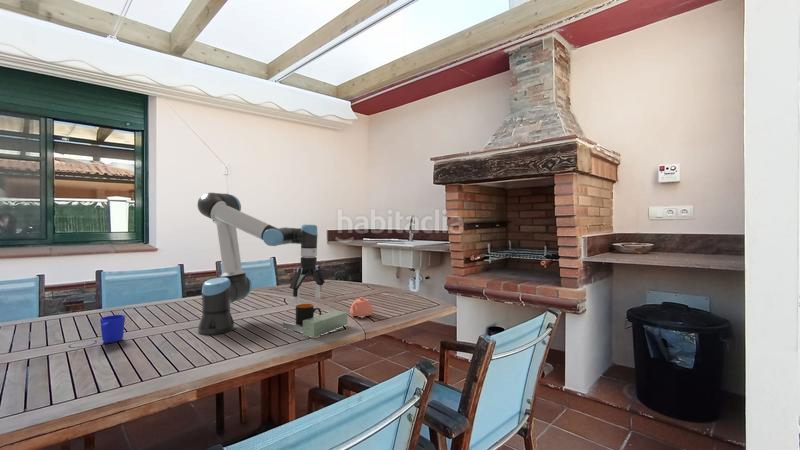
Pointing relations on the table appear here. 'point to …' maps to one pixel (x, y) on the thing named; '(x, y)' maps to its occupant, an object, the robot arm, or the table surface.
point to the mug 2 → (305, 312)
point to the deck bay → (319, 323)
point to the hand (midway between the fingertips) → (307, 300)
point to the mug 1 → (112, 328)
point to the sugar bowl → (361, 307)
